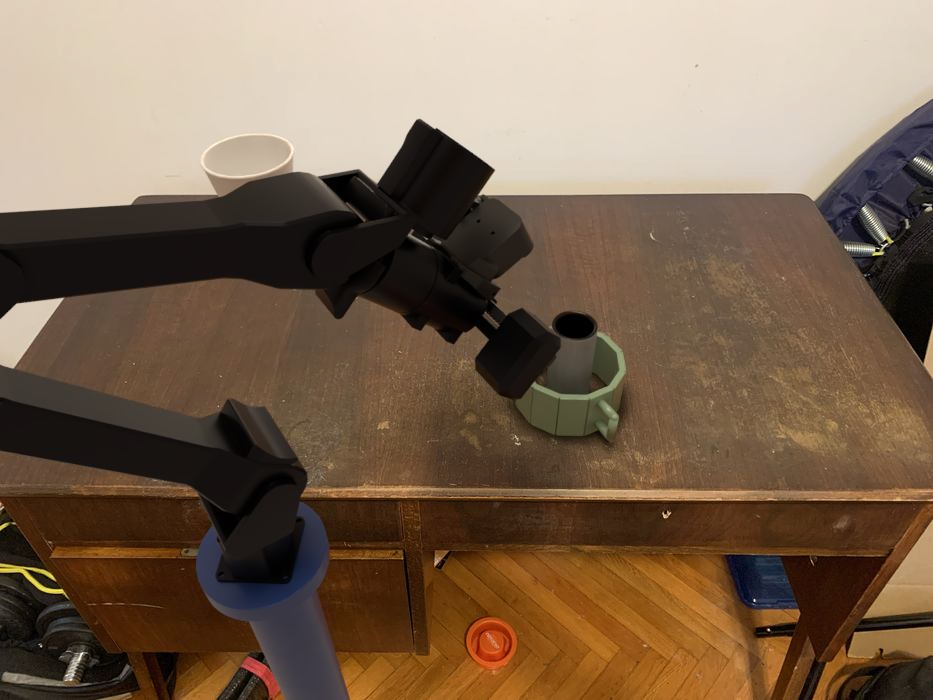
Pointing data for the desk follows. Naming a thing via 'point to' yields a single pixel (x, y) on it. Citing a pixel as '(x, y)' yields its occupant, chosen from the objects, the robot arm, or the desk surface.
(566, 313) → the grey hollow cylinder
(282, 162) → the cup
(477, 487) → the desk surface
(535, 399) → the mug
